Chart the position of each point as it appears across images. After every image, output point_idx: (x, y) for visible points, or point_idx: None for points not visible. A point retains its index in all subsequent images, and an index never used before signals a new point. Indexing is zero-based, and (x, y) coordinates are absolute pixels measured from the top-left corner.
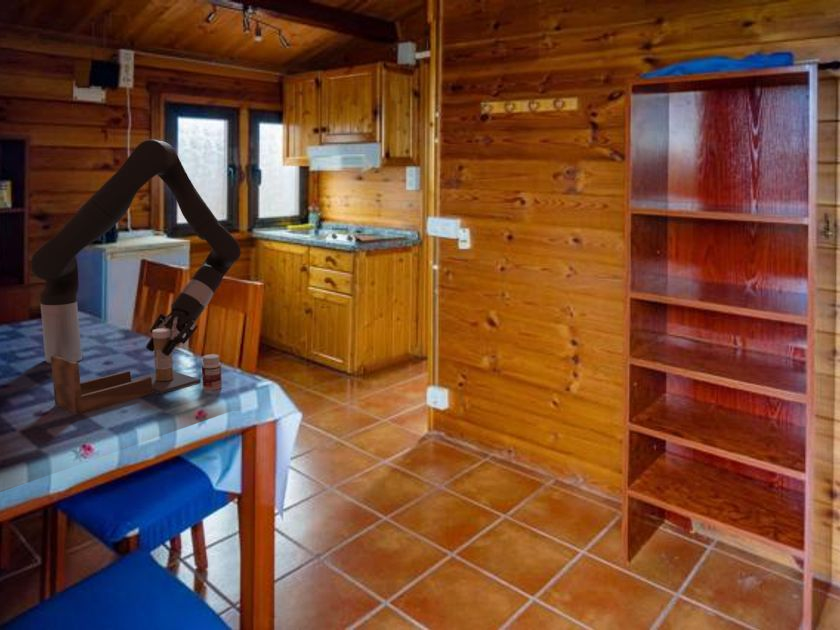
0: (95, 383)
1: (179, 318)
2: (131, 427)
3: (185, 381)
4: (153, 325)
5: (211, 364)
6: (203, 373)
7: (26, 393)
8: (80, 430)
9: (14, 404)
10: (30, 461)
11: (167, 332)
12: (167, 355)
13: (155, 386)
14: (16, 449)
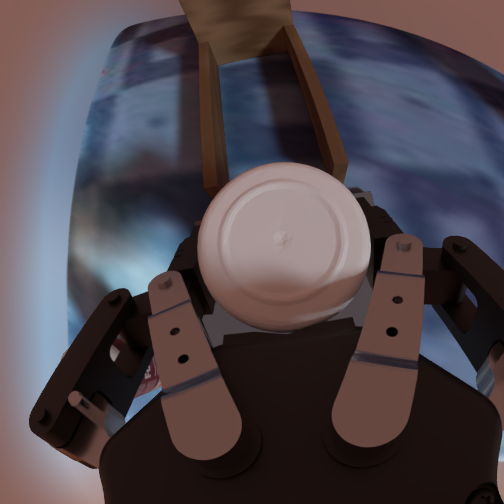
0: (304, 79)
1: (200, 467)
2: (91, 121)
3: (222, 327)
4: (497, 269)
5: None
6: (115, 339)
7: (402, 44)
8: (142, 65)
9: (344, 21)
10: (116, 38)
11: (200, 262)
12: None
13: None
14: (155, 23)
